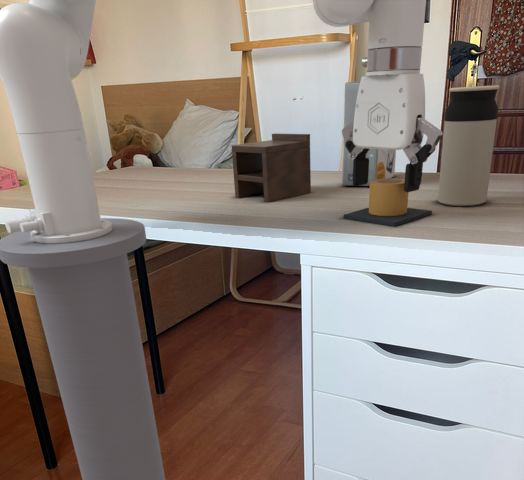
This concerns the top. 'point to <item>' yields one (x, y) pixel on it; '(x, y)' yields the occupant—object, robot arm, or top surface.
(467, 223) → the top surface
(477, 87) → the travel mug
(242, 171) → the rack
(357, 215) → the mat
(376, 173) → the hard drive box
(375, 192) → the tape roll
